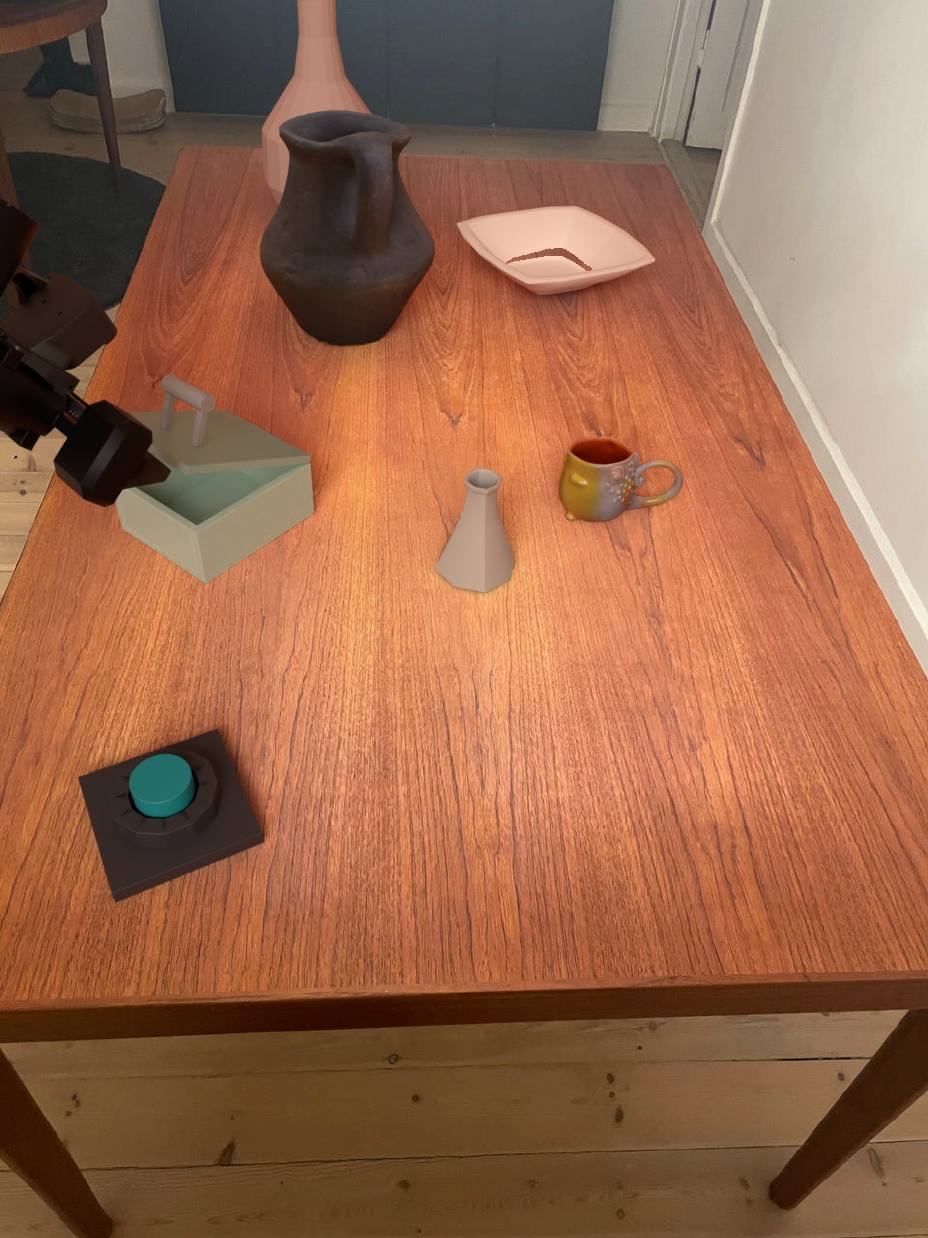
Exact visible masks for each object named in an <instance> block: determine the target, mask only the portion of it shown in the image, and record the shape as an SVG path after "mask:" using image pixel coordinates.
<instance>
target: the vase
mask: <svg viewBox="0 0 928 1238" xmlns="http://www.w3.org/2000/svg"><path fill="white" fill-rule="evenodd" d="M296 3H297V4H296V5H297V21H298V23H297V24H298V39H297V48H296V55H295V65H294V73H293V75H292V77H291V79H290V80H289V82H288V84H287V85H286V87H285V89H284V90H283V92H282V93H281V95H280V96H279V98H278V100H277V102H276V103H275V105H274V106H273V108H272V110H271V112H269V115H268V116H267V118H266V119H265V121H264V123H263V125H262V128H261V142H262V145H261V146H262V163H263V164H262V166H263V179H264V181H265V183H266V186H267V188H268V190H269V192H270V195H271V196H272V198H273V200H274V202H275V204H276V205H277V207H278V206H279V204H280V201H281V199H282V195H283V192H284V188H285V184H286V179H287V175H288V167H289V151H288V149H287V147H286V145H285V144H284V142H283V141H282V139H281V137H280V136H279V126H280V125H281V124H282V123H284V122H285V121H287V120H289V119H291V118H294V117H296V116H300V115H305V114H308V113H313V112H319V111H328V110H347V111H354V112H361V113H367V114H372V112H371V111H370V110H369V108H368V107H367V105H366V103H365V102H364V101H363V99H362V98H361V96H360V95H359V93H358V92H357V90H356V89H355V88H354V86H353V85H352V83H351V82H350V80H349V79H348V77H347V75H346V72H345V66H344V62H343V57H342V52H341V48H340V42H339V38H338V33H337V6H336V5H337V4H336V0H296Z"/></svg>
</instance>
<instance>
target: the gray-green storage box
mask: <svg viewBox="0 0 928 1238" xmlns="http://www.w3.org/2000/svg"><path fill="white" fill-rule="evenodd" d="M155 457H156V456H155ZM156 458H157V457H156ZM157 459H159V458H157ZM159 460H160V461H161V462H162V463H163V464H165V465H166V466H167V467H168V468H169V469H171V473H170V475H169V476H168V478H167V479H166V481H165V482H161V483H156V484H150V485H145V486H139V487H134V488H129V489H125V490H122V492H121V493H120V495H119V496H118V498H117V500H116V501H115V503H114V504H115V508H116V510H117V515H118V518H119V522H120V526H121V529H122V530H123V531H124V532H126V533H128V534H129V535H131V537H134V538H135V539H137V540H139V541H140V542H141V543H143V544H144V545H145V546H147V547H148V548H150V549H152V550H154V551H155V552H157V553H158V554H159V555H161V556H162V557H164V558H166V559H167V560H169V561H170V562H171V563H173V564H175V565H176V566H178V567H179V568H180V569H182V570H183V571H185V572H187V573H188V574H190V575H191V576H192V577H194V578H196V579H197V580H198V581H200V582H202V583H203V584H205V585H207V584H209V583H210V582H211V581H213V580H214V579H216V578H217V577H219V576H220V575H223V573H226V572H227V571H228V570H230V569H231V568H233V567H234V566H236V565H238V564H240V563H241V562H242V561H244V560H245V559H247V558H248V557H249V556H251V555H253V554H254V553H256V552H257V551H259V550H261V549H262V548H264V547H265V546H266V545H268V544H269V543H271V542H272V541H274V540H276V539H278V538H279V537H280V536H282V535H283V534H285V533H287V532H288V531H290V530H291V529H293V528H294V527H295V526H297V525H299V524H300V523H301V522H303V521H304V520H306V519H308V518H309V517H311V516H312V515H314V514H315V504H314V503H315V502H314V489H313V476H312V464H311V462H310V463H308V464H298V465H288V466H278V467H267V468H257V469H247V470H237V471H226V472H216V473H206V474H196V475H186V474H184V473H183V472H181V471H179V470H178V469H176V468H174V467H172V466H171V465H169V464H167V463H166V462H164V461H162V460H161V459H159Z"/></svg>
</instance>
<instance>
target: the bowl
mask: <svg viewBox="0 0 928 1238" xmlns="http://www.w3.org/2000/svg"><path fill="white" fill-rule="evenodd" d="M456 227H457V229H458V231H459V232H460V235H461V236H462V238H463V240H465V241H466V242H467V244H469V246H471V247H472V249H473V250H474V251H475V252H476V253H477V254H478V255H479V256H480V257H482V259H484V260H485V261H486V262H488V263H489V264H490V265H491V266H493V267H494V269H496V270H497V271H499V272H500V273H502V274H503V275H505V276H506V277H507V278H509V279H510V280H512V281H513V282H514V283H515V284H518V285H520V286H522V287H524V288H525V289H526V290H529V291H530V292H531V293H534V294H535V295H537V296H546V295H547V296H548V295H557V294H563V293H569V292H574V291H579V290H584V289H587V288H589V287H592V286H594V285H596V284H599V283H604V282H609V281H612V280H614V279H617V278H620V277H623V276H625V275H627V274H630V273H633V272H635V271H636V270H639V269H641V268H644V267H646V266H648V265H651V264H654V263H655V262H656V258H655V257H654V256H653V255H652V254H651V252H650V251H649V250H648V249H647V247H646V246H645V245H643V244H642V243H640V241H639V240H637V239H636V238H635V237H633V236H632V235H631V234H629V233H628V232H627V231H626V230H625V229H623V228H621V227H619V226H618V225H617V224H615V223H613V222H611V221H609V220H608V219H606V218H604V217H602V216H601V215H598V214H596V213H595V212H592V211H589V210H587V209H585V208H582V207H580V206H577V205H561V206H560V205H559V206H558V205H555V206H544V207H536V208H535V207H534V208H527V209H520V210H513V211H505V212H499V213H494V214H486V215H479V216H476V217H472V218H469V219H465V220H462V221H459V222H457V223H456ZM549 248H550V249H554V248H563V249H566V250H567V251H569V252H570V253H572V254H574V255H575V256H576V257H578V259H580V260H581V261H583V262H584V264H586V265H587V266H590V267H591V268H592V270H591V271H586V270H585V269H584V268H582V267H581V266H579V265H578V264H576V263H575V262H573V261H571V260H569V259H567V258H565V257H563V256H544V257H538V258H532V259H526V260H520V261H514V262H511V263H508V264H506V262H507V261H509V260H511V259H512V258H514V257H519V256H522V255H527V254H530V253H534V252H539V251H542V250H545V249H549ZM595 283H596V284H595ZM593 284H594V285H593ZM590 285H591V286H590ZM587 286H588V287H587ZM581 287H585V288H581ZM577 288H579V289H577ZM572 289H574V290H572ZM567 290H568V291H567ZM561 291H563V292H561ZM556 292H557V293H556Z"/></svg>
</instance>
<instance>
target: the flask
mask: <svg viewBox="0 0 928 1238" xmlns="http://www.w3.org/2000/svg"><path fill="white" fill-rule="evenodd" d="M502 482H503V476H501V475H500V474H499V473H497V472H496V471H494V470H493V469H490V468H485V467H475V468H473V469H470V470H469V471H466V473H465V475H464V478H463V482H462V483H463V486H464V487H465V499H464V503H463V506H462V510H461V512H460V513H461V514H460V515H459V517H458V519H457V521H456V523H455V525H454V527H453V530H452V532H451V533H450V535H449V537H448V539H447V540H446V542H445V544H444V546H443V548H442V549H441V553H440V555H439V557H438V560H437V562H436V564H435V567H434V571H436V572H437V573H439V575H440V576H442V577H443V578H444V579H445V580H446V581H447V582H449V583H450V584H451V585H452V586H453V587H456V588H460V589H464V590H470V591H475V592H479V593H484V594H486V593H489V592H490V591H491V590H493V589H495V588H497V587H499V586H502V585H503V584H505V583H507V582H509V581H510V579H511V576H512V572H513V570H514V567H515V565H516V558H515V554H514V552H513V549H512V547H511V544H510V541H509V539H508V536H507V533H506V530H505V527H504V525H503V521H502V518H501V514H500V511H499V502H498V491H499V490H500V487H501V484H502Z"/></svg>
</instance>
